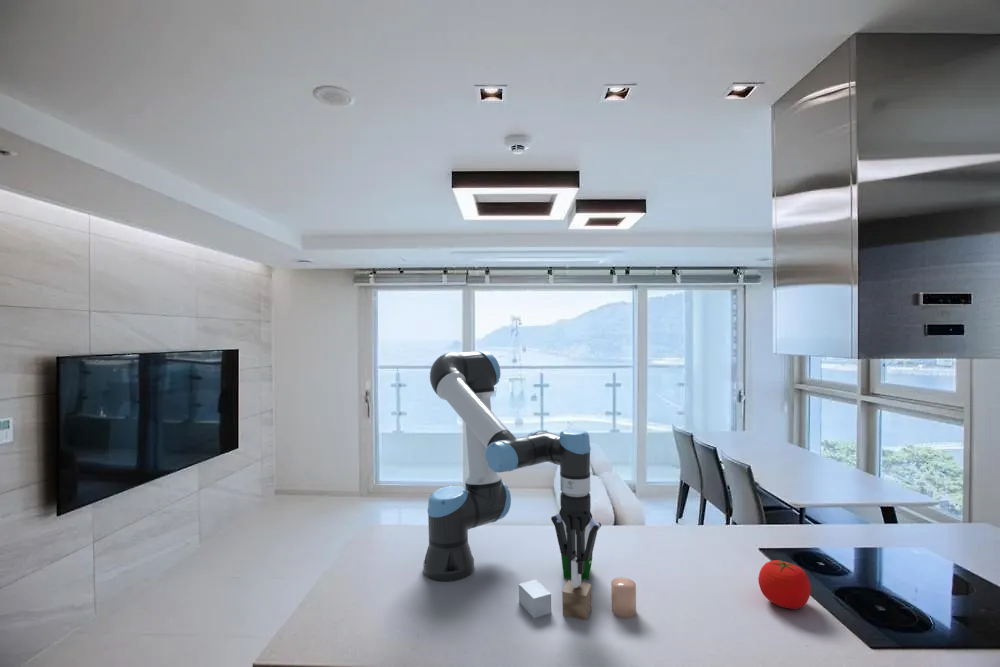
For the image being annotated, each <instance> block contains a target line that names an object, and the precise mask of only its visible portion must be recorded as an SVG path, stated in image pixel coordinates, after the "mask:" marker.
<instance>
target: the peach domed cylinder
mask: <svg viewBox="0 0 1000 667" xmlns="http://www.w3.org/2000/svg"><path fill="white" fill-rule="evenodd" d="M610 582H611V588H610V590H611V613H613V615H615V616H616V617H618V618H624V619H631V618H634V617H635V616H636V614H637V587H636V586H637V585H636V582H635V581H634V580H633V579H630V578H629V577H628V578H627V577H615V578H613V579H611V581H610ZM630 617H631V618H630Z"/></svg>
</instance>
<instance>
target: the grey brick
mask: <svg viewBox="0 0 1000 667" xmlns="http://www.w3.org/2000/svg"><path fill="white" fill-rule="evenodd" d="M518 599H519V600H518V602H519V604H520V605H521V606H522V607H523V608H524V609H525V610H526V611H527V612H528V614H529V615H531V617H532V618H534V619H535V618H539V617H543V616H547V615H549V614H552V593H551V592H550V591H549V590H548V589H547V588H546V587H545V586H543V585H542V584H541V583H540V582H539V581H538V580H537V579H532V580H529V581H524V582H521V583H518Z"/></svg>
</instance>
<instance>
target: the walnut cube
mask: <svg viewBox="0 0 1000 667" xmlns="http://www.w3.org/2000/svg"><path fill="white" fill-rule="evenodd" d="M561 594H562V597H561V598H562V616H565V617H569V618H575V619H580V620H584V621H587V620H588V618H589V615H590V612H591V610H592V608H593V606H592V603H593V601H592V599H593V598H592V597H593V596H592V583H587V582H581V584H580V585H579V586H578V588H575V587H572V584H571V580H570V579H568V581H567V582H566V583H565V585H564V588H563V590H562V592H561Z"/></svg>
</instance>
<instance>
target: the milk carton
mask: <svg viewBox="0 0 1000 667" xmlns="http://www.w3.org/2000/svg"><path fill="white" fill-rule="evenodd" d="M562 522H563V525H564V530H565V534H566V539H567V532H566V525H565V523H564V521H563V520H562ZM589 532H590V523H589V524H588V525H587V526H586V528H585V549H586V545H587V540H588V536H589ZM576 553H577V542H576V531H575V554H576ZM560 555H561V554H560ZM560 557H561V558H560V559H561V565H562V574H563V578H566V579H571V572H570V571H569V570H568V558H567V557H566V556H565V555H564V556H563V555H561V556H560ZM575 557H577V554H576V555H575ZM592 562H593V556H592V557H591V558H590V559H589V560H588V561H584V572H583V573H582V575H581V580H587V581H589V580H590V575H591V567H592Z"/></svg>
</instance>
